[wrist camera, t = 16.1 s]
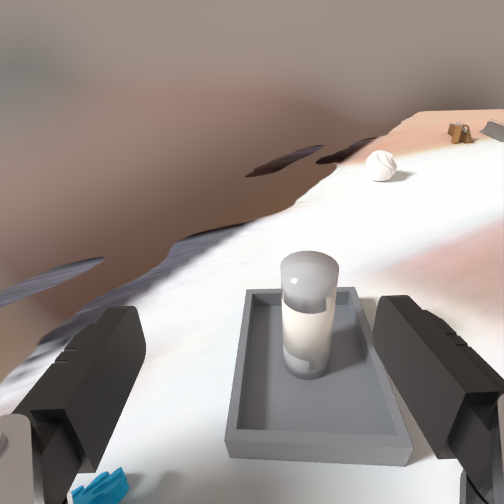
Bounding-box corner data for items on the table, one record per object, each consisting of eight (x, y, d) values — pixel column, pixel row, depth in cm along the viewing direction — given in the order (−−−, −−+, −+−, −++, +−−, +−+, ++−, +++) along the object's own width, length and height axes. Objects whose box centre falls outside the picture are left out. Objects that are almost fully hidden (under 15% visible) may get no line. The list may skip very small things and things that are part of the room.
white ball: (392, 186, 69) (398, 154, 64) (360, 184, 72) (364, 154, 68) (395, 176, 74) (400, 146, 70) (365, 175, 78) (369, 146, 74)
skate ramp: (538, 146, 87) (549, 120, 83) (414, 151, 96) (419, 128, 92) (495, 130, 110) (502, 109, 106) (399, 135, 120) (402, 116, 116)
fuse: (283, 379, 27) (280, 284, 20) (283, 340, 31) (280, 251, 24) (331, 381, 26) (343, 284, 20) (325, 341, 30) (334, 250, 24)
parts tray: (229, 457, 22) (224, 440, 21) (249, 306, 37) (246, 289, 36) (405, 466, 21) (413, 448, 19) (352, 304, 36) (354, 286, 34)
